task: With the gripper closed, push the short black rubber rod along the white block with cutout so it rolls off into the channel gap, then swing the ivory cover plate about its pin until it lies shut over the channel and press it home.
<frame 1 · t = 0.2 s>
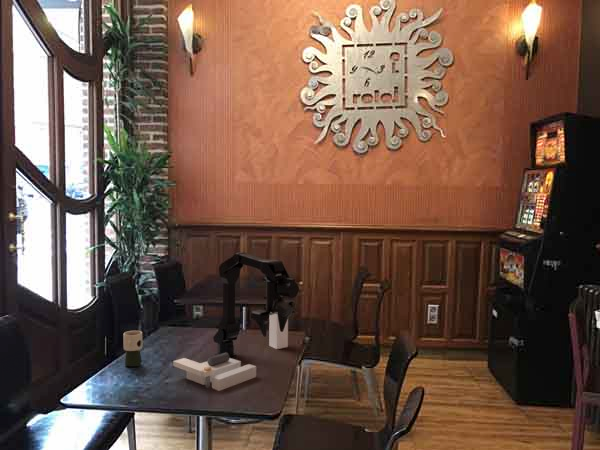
hand: (273, 334, 200), 14 cm above the table, tool pointing down, fingers open, 9 cm apart
character mug: (133, 365, 207), on the table
cover: (194, 366, 190), point 5 cm above the table, hinge at 90.0°
rod: (218, 363, 198), point 4 cm above the table, tilted 5°, touching white block with cutout
milk: (278, 346, 233), on the table
white block with cutout: (221, 377, 194), on the table
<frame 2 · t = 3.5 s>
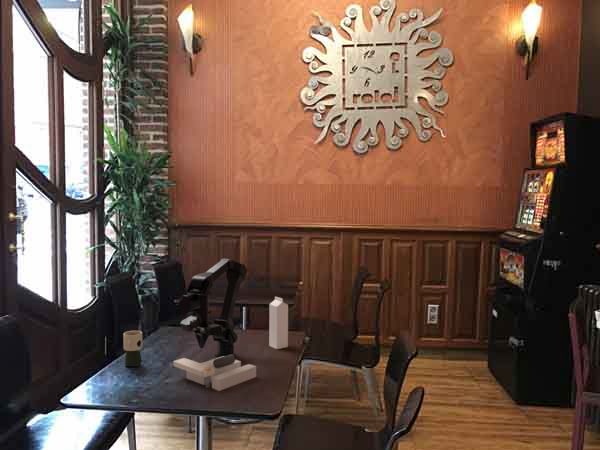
hand: (201, 348, 204), 8 cm above the table, tool pointing down, fingers closed
rod: (221, 358, 197), point 6 cm above the table, tilted 117°, touching white block with cutout
everything else where it was.
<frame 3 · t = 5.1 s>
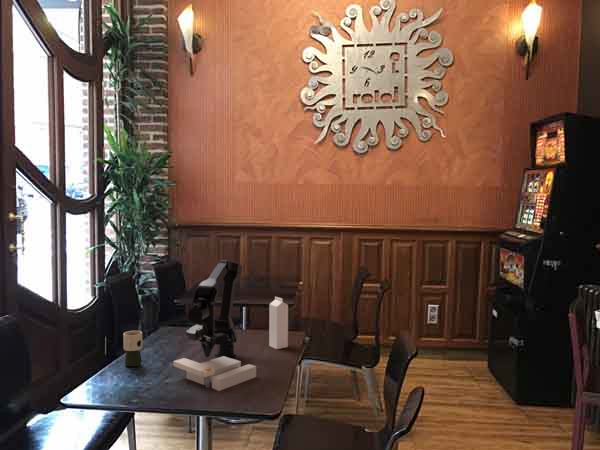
hand: (207, 356, 202), 5 cm above the table, tool pointing down, fingers closed
rod: (228, 376, 195), on the table, tilted 48°
everything else where it was.
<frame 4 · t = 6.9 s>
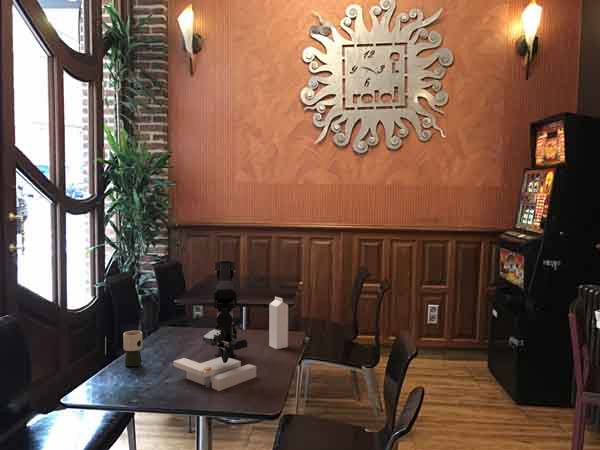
hand: (225, 362, 195), 5 cm above the table, tool pointing down, fingers closed
nothing on the table moved.
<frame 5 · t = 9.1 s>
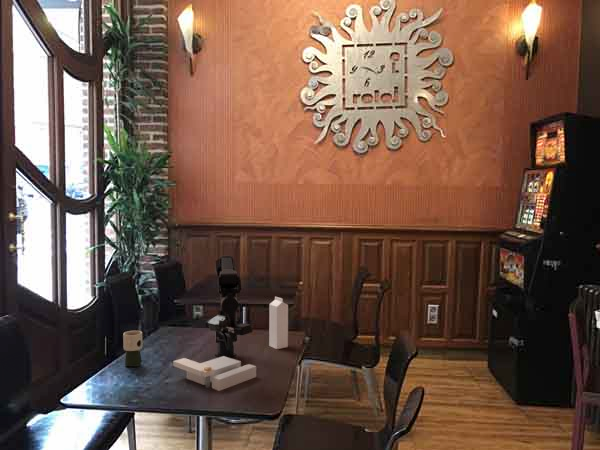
hand: (228, 349, 193), 11 cm above the table, tool pointing down, fingers closed
rod: (228, 375, 194), point 1 cm above the table, tilted 63°, touching white block with cutout
everything else where it was.
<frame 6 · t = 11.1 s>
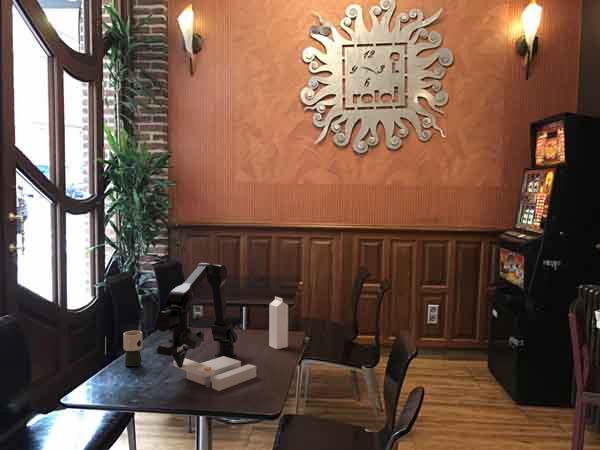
hand: (180, 367, 190), 5 cm above the table, tool pointing down, fingers closed
cover: (194, 366, 190), point 5 cm above the table, hinge at 90.0°, touching gripper
rod: (228, 375, 194), point 1 cm above the table, tilted 60°
everything else where it was.
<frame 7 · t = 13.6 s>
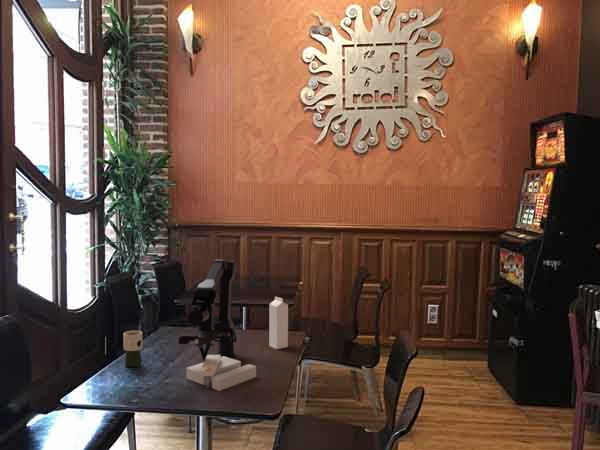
hand: (203, 360, 196), 5 cm above the table, tool pointing down, fingers closed
cover: (210, 364, 193), point 5 cm above the table, hinge at 42.0°, touching gripper
rod: (228, 376, 195), on the table, tilted 49°
everything else where it was.
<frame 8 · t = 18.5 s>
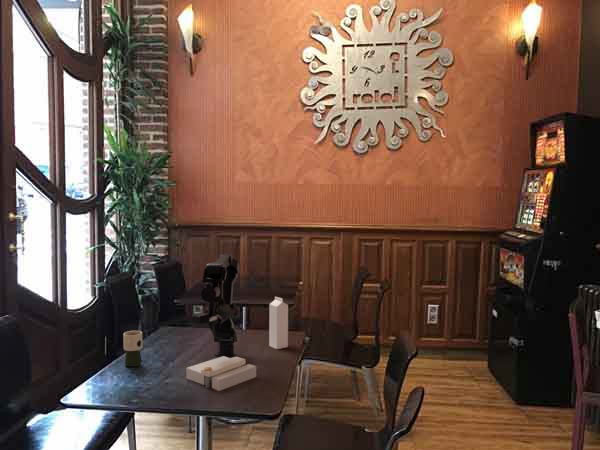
hand: (215, 336, 201), 13 cm above the table, tool pointing down, fingers closed
cover: (223, 365, 191), point 5 cm above the table, hinge at 2.5°
rod: (228, 375, 194), point 1 cm above the table, tilted 59°
everything else where it was.
at the end: rod inside the target area on the white block with cutout (2.2 cm from its centre), point 0.6 cm above the white block with cutout's base; cover at +2° (first picture: +90°); cover touching nothing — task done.
